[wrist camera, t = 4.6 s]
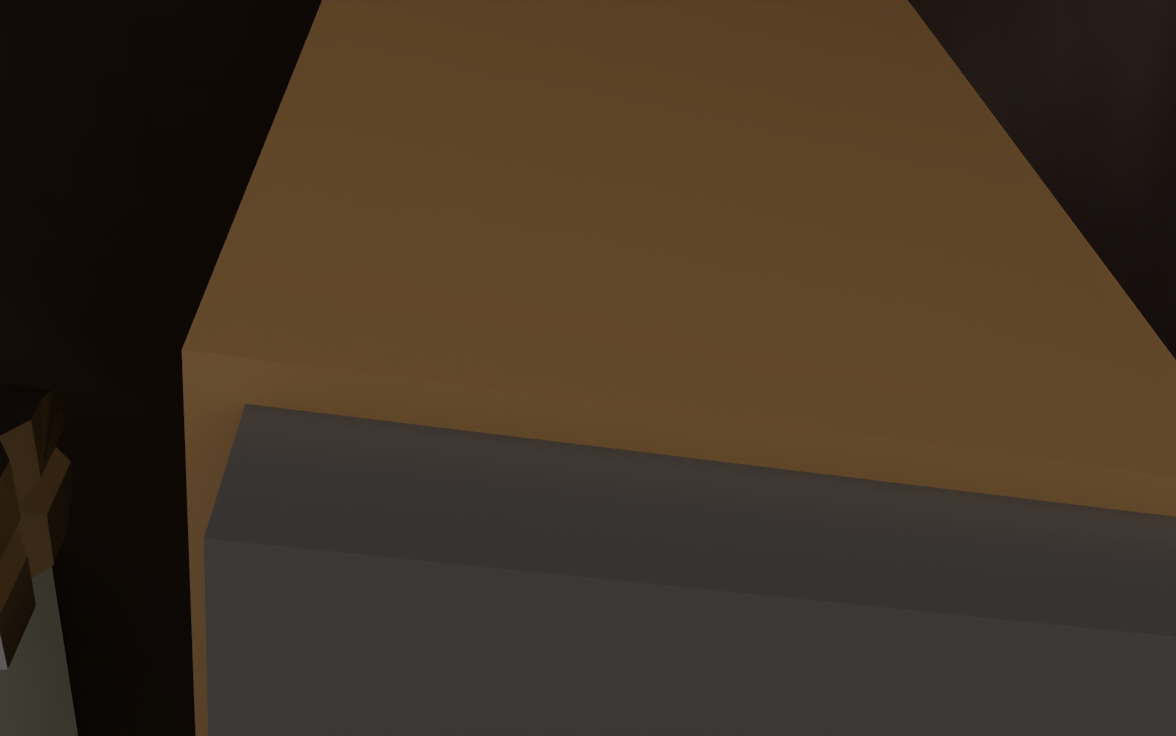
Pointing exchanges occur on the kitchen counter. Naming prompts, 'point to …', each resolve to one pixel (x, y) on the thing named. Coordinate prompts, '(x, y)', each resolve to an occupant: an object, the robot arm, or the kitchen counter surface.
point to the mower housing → (38, 673)
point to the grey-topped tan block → (667, 394)
